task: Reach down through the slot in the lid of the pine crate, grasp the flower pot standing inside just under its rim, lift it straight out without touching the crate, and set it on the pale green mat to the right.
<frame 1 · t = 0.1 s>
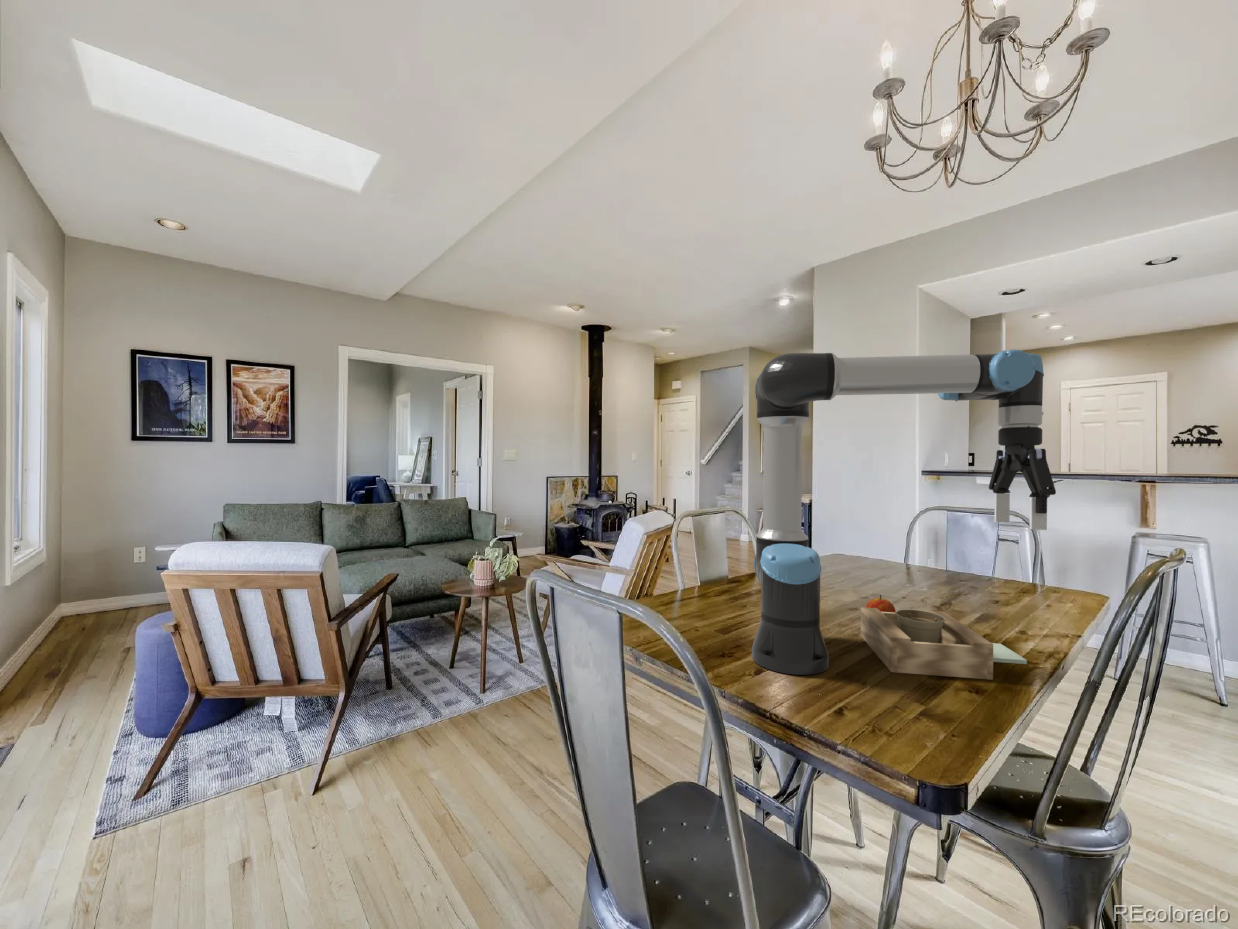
hand: (1018, 525, 112), 28 cm above the table, fingers open, 13 cm apart
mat: (987, 653, 113), on the table
crate: (919, 655, 112), on the table
flower pot: (919, 656, 112), resting in crate
fruit: (880, 626, 132), on the table
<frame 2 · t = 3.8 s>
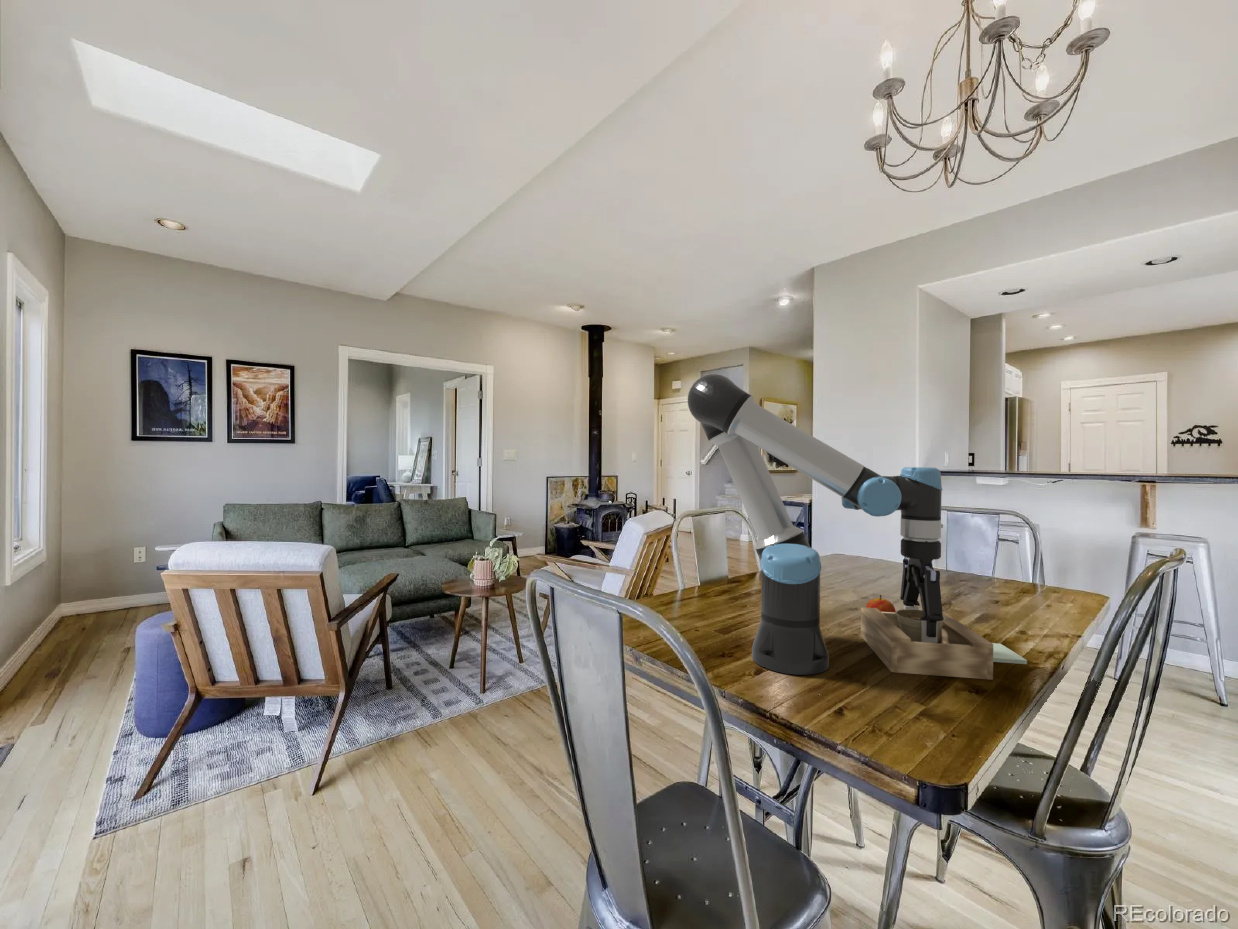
hand: (919, 643, 112), 3 cm above the table, fingers closed on flower pot, 9 cm apart
flower pot: (919, 656, 112), resting in crate, touching gripper
everything else where it was.
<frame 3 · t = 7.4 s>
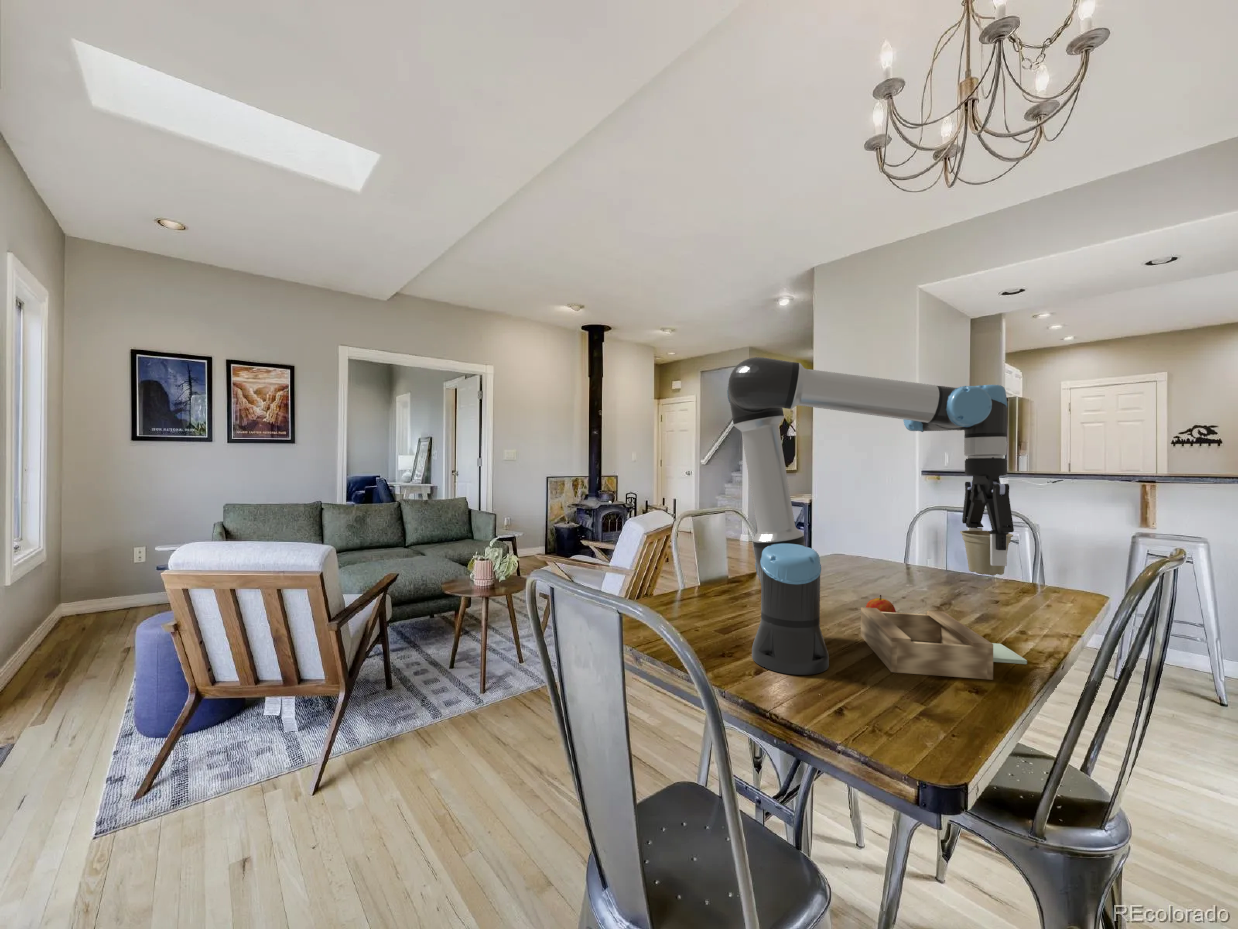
hand: (986, 560, 113), 20 cm above the table, fingers closed on flower pot, 9 cm apart
flower pot: (986, 573, 113), point 17 cm above the table, touching gripper
everything else where it was.
when the fingers open (5 cm above the table, at t = 10.8 s): flower pot drops 1 cm, resting on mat.
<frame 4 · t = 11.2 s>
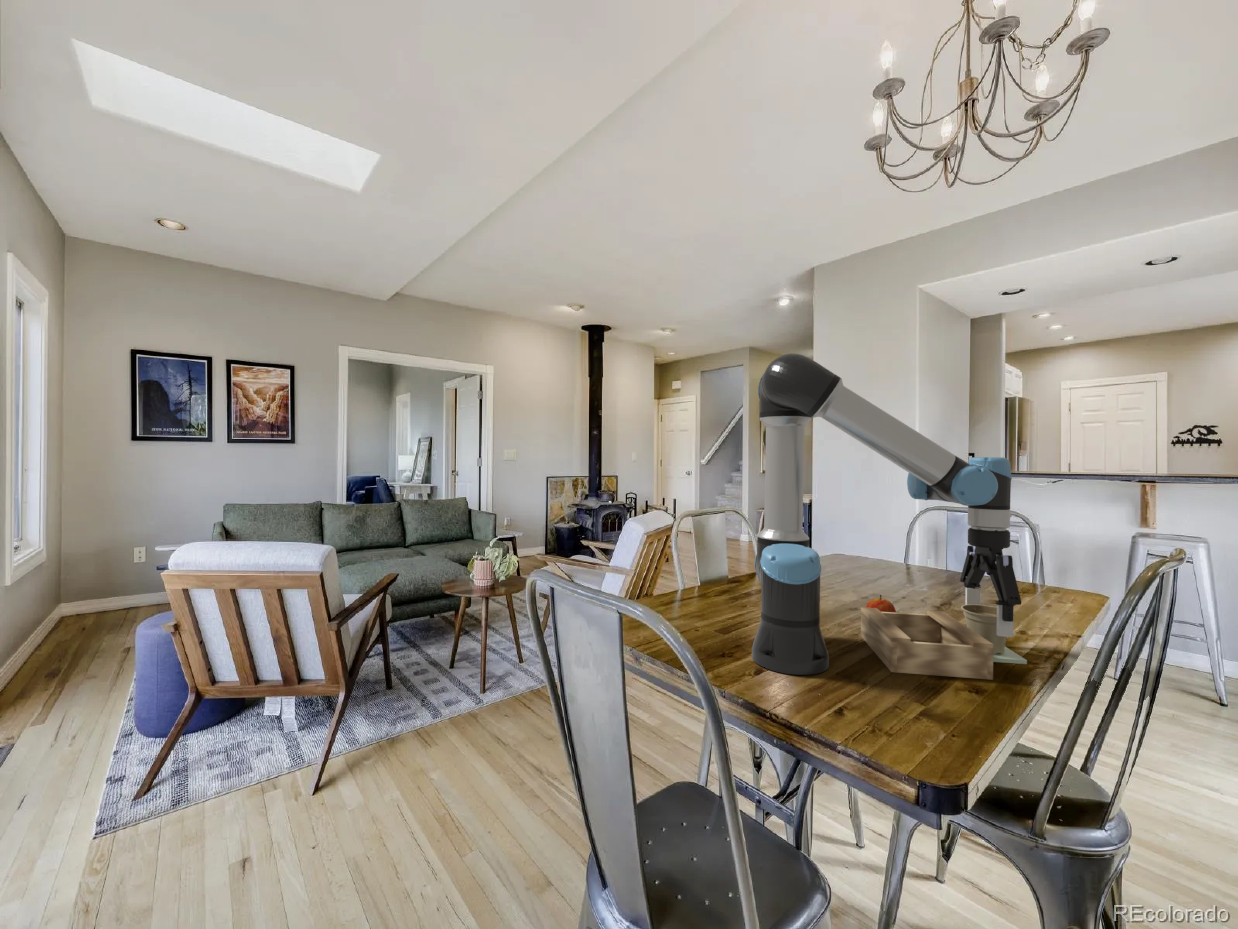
hand: (987, 626, 113), 6 cm above the table, fingers open, 13 cm apart
flower pot: (986, 650, 113), point 1 cm above the table, touching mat
everything else where it was.
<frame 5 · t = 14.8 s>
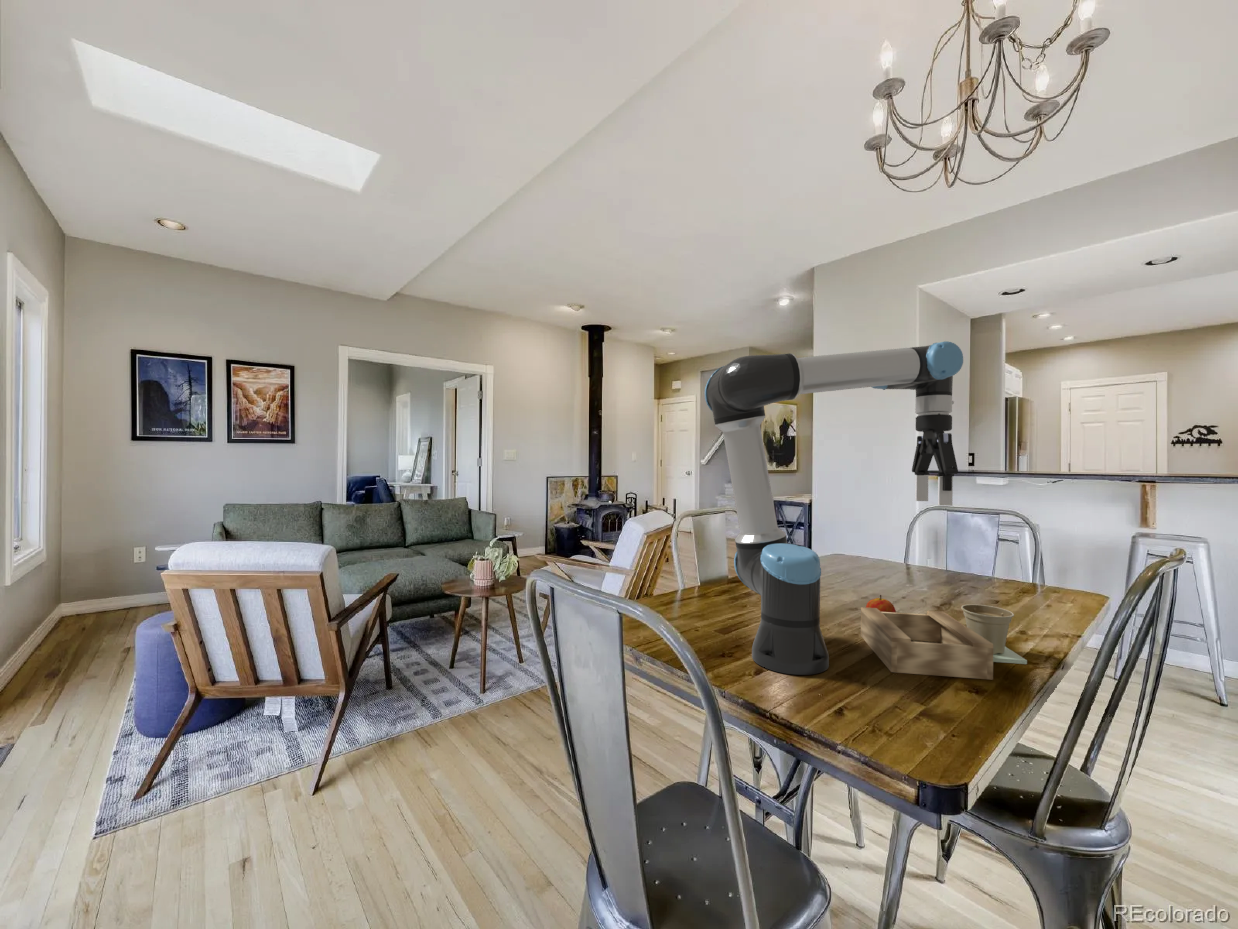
hand: (932, 503, 125), 32 cm above the table, fingers open, 13 cm apart
nothing on the table moved.
at the end: flower pot inside the target area on the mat (0.1 cm from its centre), point 0.6 cm above the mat's base; flower pot tilted 0°; the gripper is holding nothing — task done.
